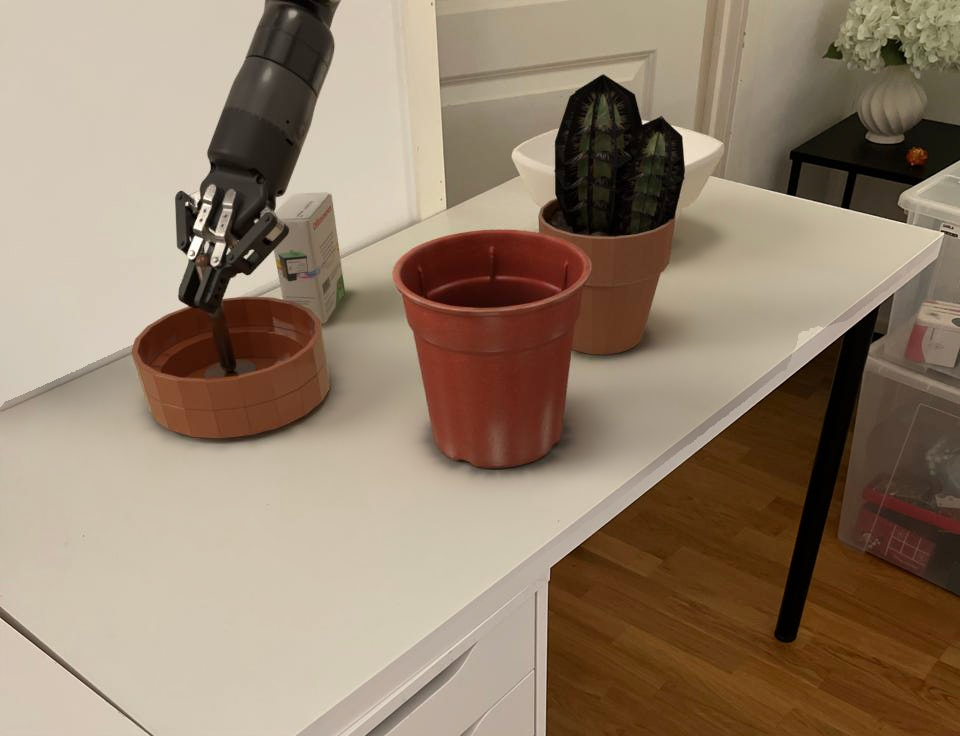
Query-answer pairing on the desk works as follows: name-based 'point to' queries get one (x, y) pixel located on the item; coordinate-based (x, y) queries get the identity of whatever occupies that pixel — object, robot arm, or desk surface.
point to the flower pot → (494, 339)
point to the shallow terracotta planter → (237, 399)
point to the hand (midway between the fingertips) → (196, 306)
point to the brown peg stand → (222, 338)
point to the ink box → (310, 254)
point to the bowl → (698, 148)
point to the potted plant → (614, 209)
